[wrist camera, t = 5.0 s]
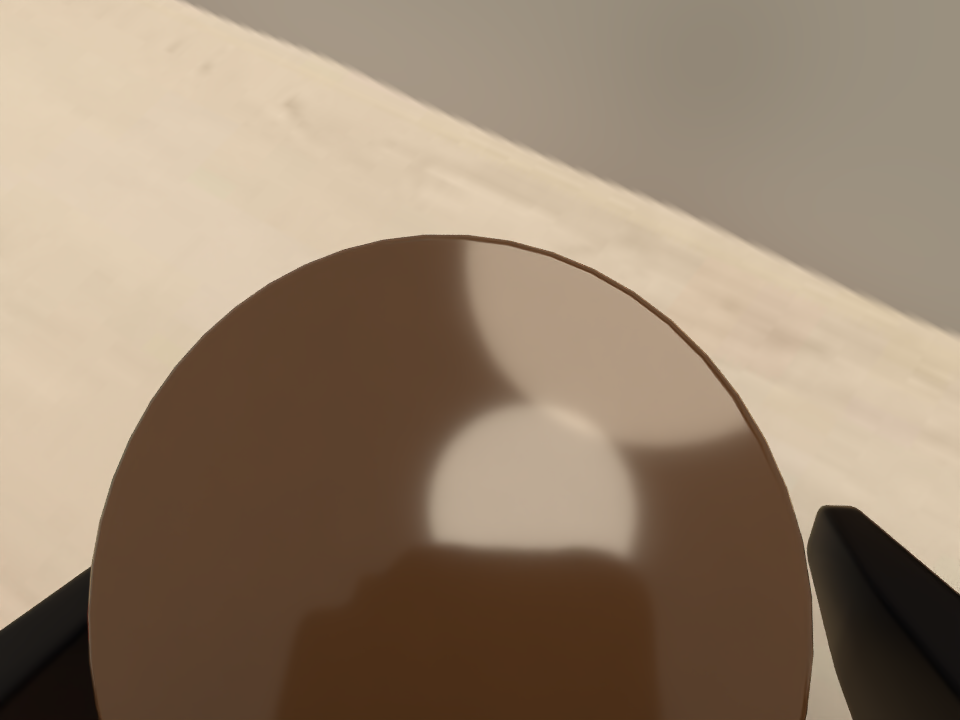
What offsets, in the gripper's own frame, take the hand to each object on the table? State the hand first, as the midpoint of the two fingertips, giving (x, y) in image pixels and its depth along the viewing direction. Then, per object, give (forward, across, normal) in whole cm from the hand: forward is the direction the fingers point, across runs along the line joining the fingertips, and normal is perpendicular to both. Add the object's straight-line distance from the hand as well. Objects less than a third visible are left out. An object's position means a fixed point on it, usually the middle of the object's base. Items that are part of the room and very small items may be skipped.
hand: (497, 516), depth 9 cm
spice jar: (+6, 0, +6) cm, 8 cm away
